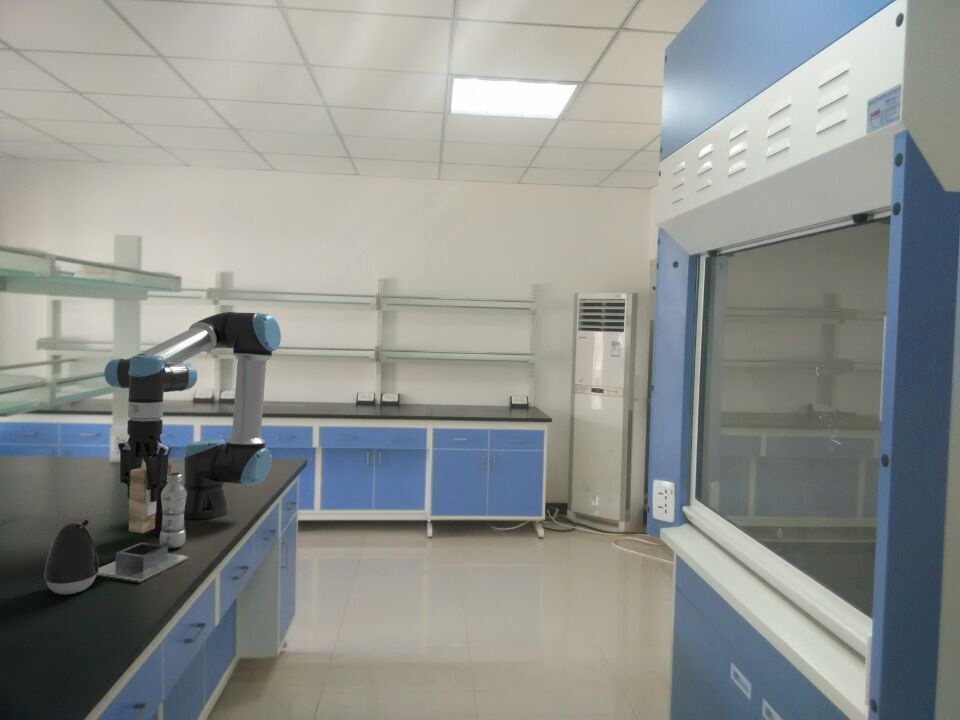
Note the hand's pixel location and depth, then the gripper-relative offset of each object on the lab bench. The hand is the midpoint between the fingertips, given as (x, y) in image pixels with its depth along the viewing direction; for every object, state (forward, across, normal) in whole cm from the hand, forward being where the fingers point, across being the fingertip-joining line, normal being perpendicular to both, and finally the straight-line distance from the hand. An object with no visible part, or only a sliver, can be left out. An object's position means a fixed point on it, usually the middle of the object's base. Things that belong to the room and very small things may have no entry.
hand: (142, 513), depth 152 cm
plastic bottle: (+14, -3, +14) cm, 20 cm away
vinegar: (+14, -14, +22) cm, 30 cm away
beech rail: (+4, 0, 0) cm, 4 cm away
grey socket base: (+14, 0, 0) cm, 14 cm away
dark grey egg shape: (+14, -4, -15) cm, 21 cm away
